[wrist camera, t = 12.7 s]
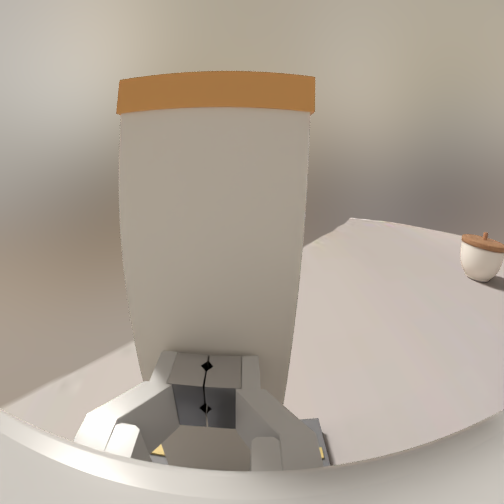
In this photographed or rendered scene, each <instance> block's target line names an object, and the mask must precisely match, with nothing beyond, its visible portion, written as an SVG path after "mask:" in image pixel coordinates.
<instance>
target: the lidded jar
mask: <svg viewBox="0 0 504 504" xmlns="http://www.w3.org/2000/svg"><path fill="white" fill-rule="evenodd" d="M487 237H488V233H487V232H484V235H483V237H482V236H477V235H471V234H464V235H462V243H461V250H460V261H461V265H462V268H463V270H464V272H465V275H466V276H467V277H469V278H471V279H473V280H476V281H479V282H488V281H489V279H491V278H493V277H494V276H495V275H496V274H497V273H498V271H499V270H500V267H501V265H502V262H503V258H504V244H502V243H500V242H497V241H494V240H492V239H489V238H487Z"/></svg>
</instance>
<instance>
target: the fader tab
mask: <svg viewBox="0 0 504 504" xmlns="http://www.w3.org/2000/svg"><path fill="white" fill-rule="evenodd" d="M314 112H315V77H312V76H303V75H294V74H284V73H270V72H250V71H204V72H184V73H171V74H161V75H151V76H144V77H136V78H129V79H123V80H120V82H119V91H118V101H117V112H116V113H117V114H119V115H121V122H120V141H119V212H120V231H121V245H122V255H123V267H124V276H125V284H126V292H127V299H128V306H129V312H130V318H131V324H132V330H133V335H134V341H135V346H136V351H137V356H138V361H139V365H140V370H141V374H142V378H143V382H144V381H149V380H150V378H151V376H152V373H153V371H154V368H155V366H156V364H157V361H158V359H159V357H160V354H161V352H162V351H164V350H165V351H175V352H186V353H196V354H208V355H209V356H210V355H223V356H251V355H258V357H259V368H260V382H261V389H266V390H267V391H268V392H269V393H270V394H271V395H272V396H274V397H275V398H276V399H277V400H278V401H279V402H280V403H281V404H282V405H283V403H284V397H285V390H286V384H287V377H288V370H289V363H290V356H291V349H292V341H293V333H294V325H295V317H296V308H297V299H298V290H299V281H300V271H301V260H302V249H303V237H304V224H305V211H306V195H307V178H308V158H309V132H310V115H311V114H313V113H314ZM161 445H162V448H163V451H164V454H165V456H166V459H167V462H168V465H172V466H179V467H186V468H195V469H206V470H220V471H249V467H250V454H251V450H250V449H249V448H248V446H247V445H246V444H245V442H244V441H243V440H242V438H241V437H240V435H239V434H238V433H237V431H236V429H228V428H215V427H208V421H207V427H202V426H187V425H180V426H179V427H178V428H177V429H176V430H175V431H174V432H173V433H172V434H171V435H170V436H169V437H168V438H167V439H166V440H165V441H164V442H163V443H162V444H161Z"/></svg>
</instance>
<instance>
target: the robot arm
mask: <svg viewBox="0 0 504 504" xmlns="http://www.w3.org/2000/svg"><path fill="white" fill-rule="evenodd" d="M207 421H208V427H215V428H228V429H236V431H237V433H238V434H239V435H240V437H241V438H242V440H243V441H244V442H245V444H246V445H247V446H248V448H249V449H250V450H251V454H250V467H249V471H220V470H206V469H195V468H186V467H179V466H172V465H165V464H159V463H153V462H152V460H151V457H150V454H151V453H152V452H153V451H154V450H155V449H156V448H157V447H158V446H159V445H160V444H162V443H163V442H164V441H165V440H166V439H167V438H168V437H169V436H170V435H171V434H172V433H173V432H174V431H175V430H176V429H177V428H178V427H179V426H180V425H187V426H202V427H207ZM0 504H504V409H503V410H502V411H500V412H498V413H496V414H494V415H492V416H490V417H488V418H486V419H484V420H482V421H480V422H478V423H476V424H474V425H472V426H469V427H467V428H465V429H462V430H460V431H458V432H455V433H453V434H450V435H448V436H445V437H443V438H440V439H437V440H434V441H432V442H429V443H426V444H423V445H420V446H417V447H413V448H410V449H407V450H403V451H400V452H396V453H392V454H389V455H385V456H380V457H376V458H372V459H367V460H362V461H357V462H352V463H346V464H340V465H334V466H326V467H324V466H323V461H322V457H321V453H320V449H319V444H318V440H317V436H316V433H315V432H314V431H312V430H311V429H310V428H309V427H308V426H307V425H305V424H304V423H303V422H302V421H301V420H299V419H298V418H297V417H296V416H295V415H294V414H293V413H291V412H290V411H289V410H288V409H287V408H286V407H285V406H283V405H282V404H281V403H280V402H279V401H278V400H277V399H276V398H275V397H274V396H272V395H271V394H270V393H269V392H268V391H267V390H266V389H261V382H260V368H259V357H258V355H251V356H223V355H210V356H209V355H208V354H196V353H186V352H175V351H165V350H164V351H162V352H161V354H160V357H159V359H158V361H157V364H156V366H155V368H154V371H153V373H152V376H151V378H150V380H149V381H144V382H142V383H140V384H139V385H137V386H135V387H133V388H132V389H130V390H128V391H127V392H125V393H123V394H121V395H120V396H118V397H116V398H114V399H113V400H111V401H109V402H107V403H105V404H104V405H102V406H100V407H98V408H96V409H95V410H93V411H91V412H89V413H88V414H87V416H86V418H85V420H84V421H83V423H82V425H81V427H80V429H79V431H78V433H77V435H76V436H75V438H74V440H73V441H71V440H68V439H66V438H63V437H60V436H58V435H55V434H53V433H50V432H48V431H45V430H43V429H41V428H38V427H36V426H34V425H32V424H30V423H27V422H25V421H23V420H21V419H19V418H17V417H15V416H13V415H11V414H9V413H7V412H6V411H4V410H2V409H0Z"/></svg>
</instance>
